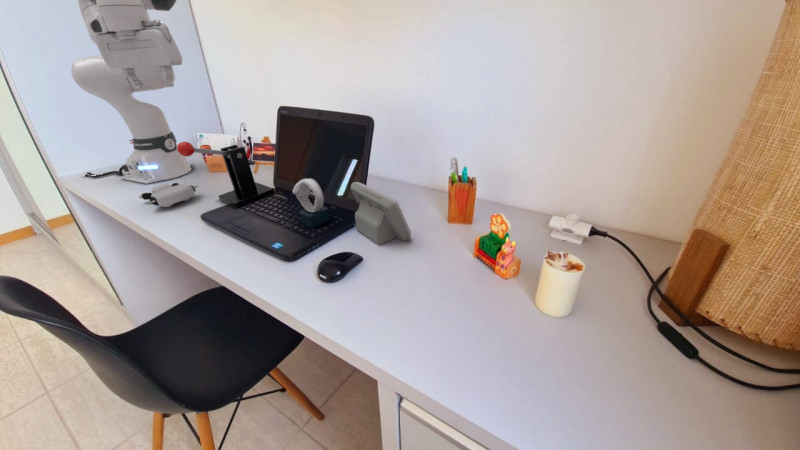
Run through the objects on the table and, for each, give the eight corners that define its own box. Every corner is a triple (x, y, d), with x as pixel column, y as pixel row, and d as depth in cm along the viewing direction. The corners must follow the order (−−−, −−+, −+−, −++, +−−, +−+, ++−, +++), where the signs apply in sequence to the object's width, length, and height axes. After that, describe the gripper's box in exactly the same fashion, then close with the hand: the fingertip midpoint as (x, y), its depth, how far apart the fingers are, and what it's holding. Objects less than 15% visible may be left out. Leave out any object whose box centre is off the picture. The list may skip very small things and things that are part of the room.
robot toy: (140, 206, 97) (160, 214, 89) (132, 192, 95) (152, 199, 87) (182, 191, 106) (204, 197, 98) (176, 178, 104) (198, 183, 95)
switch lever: (180, 156, 79) (180, 141, 78) (174, 154, 81) (174, 139, 80) (242, 162, 91) (243, 149, 90) (235, 160, 93) (236, 147, 92)
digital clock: (415, 242, 70) (413, 197, 65) (376, 254, 67) (371, 208, 62) (383, 213, 83) (379, 173, 78) (349, 222, 80) (343, 181, 74)
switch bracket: (236, 208, 90) (219, 156, 83) (219, 200, 96) (201, 151, 89) (274, 193, 98) (261, 144, 91) (257, 186, 104) (243, 140, 97)
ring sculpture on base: (314, 212, 85) (306, 173, 80) (334, 221, 80) (327, 179, 75) (296, 221, 82) (286, 180, 76) (316, 230, 77) (306, 187, 71)
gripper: (175, 19, 75) (197, 84, 82) (109, 26, 80) (135, 86, 87) (151, 18, 70) (177, 88, 77) (82, 25, 75) (111, 90, 82)
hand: (154, 87), depth 82 cm, fingers open, 8 cm apart
